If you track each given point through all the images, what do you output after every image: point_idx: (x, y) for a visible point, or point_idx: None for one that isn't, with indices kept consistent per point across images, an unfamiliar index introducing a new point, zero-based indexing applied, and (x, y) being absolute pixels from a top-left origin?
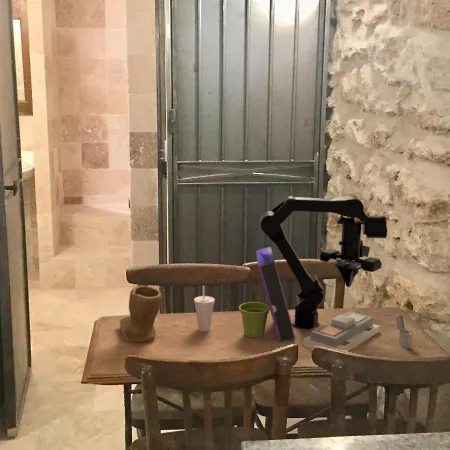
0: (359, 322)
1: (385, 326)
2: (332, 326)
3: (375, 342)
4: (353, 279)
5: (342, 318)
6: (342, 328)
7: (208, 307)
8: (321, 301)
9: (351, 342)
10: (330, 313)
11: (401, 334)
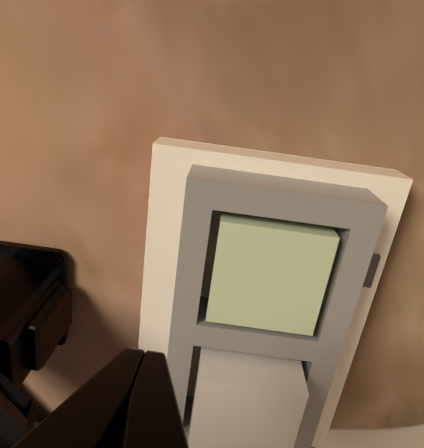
0: (322, 334)
1: (420, 49)
2: None
3: (403, 308)
4: (187, 445)
5: (237, 424)
6: None
7: None
8: (25, 426)
9: (322, 441)
10: (7, 28)
11: None
